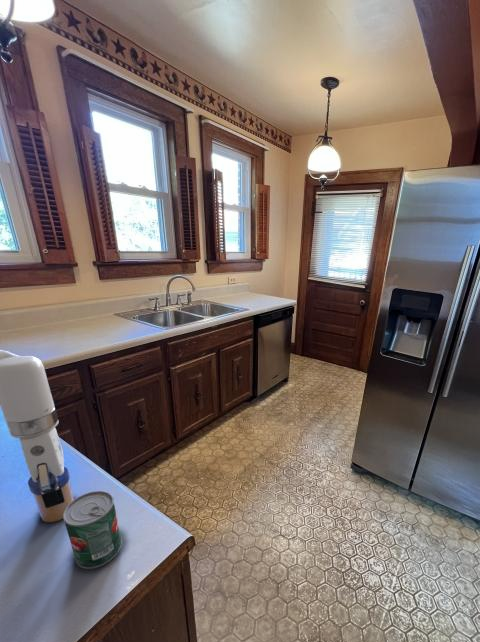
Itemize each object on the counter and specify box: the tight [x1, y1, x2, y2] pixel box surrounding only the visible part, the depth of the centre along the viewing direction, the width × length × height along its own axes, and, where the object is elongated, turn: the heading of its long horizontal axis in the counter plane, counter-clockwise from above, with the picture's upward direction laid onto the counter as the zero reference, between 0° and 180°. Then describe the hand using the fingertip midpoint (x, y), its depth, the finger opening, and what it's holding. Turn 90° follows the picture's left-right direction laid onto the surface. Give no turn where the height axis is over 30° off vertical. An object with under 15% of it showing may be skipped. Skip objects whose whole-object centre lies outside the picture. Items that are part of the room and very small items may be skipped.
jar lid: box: [27, 466, 71, 495], centre depth 64 cm, size 7×7×2 cm
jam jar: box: [33, 480, 75, 523], centre depth 66 cm, size 6×6×9 cm
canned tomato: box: [63, 490, 123, 570], centre depth 58 cm, size 8×8×11 cm
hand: (55, 492), depth 66 cm, fingers closed on jar lid, 6 cm apart
